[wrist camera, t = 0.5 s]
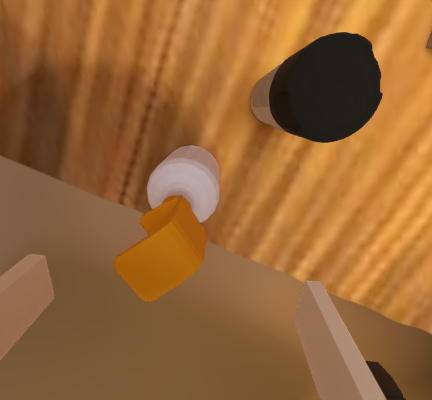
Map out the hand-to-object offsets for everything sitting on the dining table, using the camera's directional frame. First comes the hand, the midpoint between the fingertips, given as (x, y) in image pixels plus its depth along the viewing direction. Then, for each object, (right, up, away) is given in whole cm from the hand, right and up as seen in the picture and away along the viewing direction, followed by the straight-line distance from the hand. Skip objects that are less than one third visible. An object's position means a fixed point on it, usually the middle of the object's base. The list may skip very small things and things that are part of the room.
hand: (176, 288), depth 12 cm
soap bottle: (-2, +9, +26) cm, 27 cm away
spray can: (+10, +19, +21) cm, 30 cm away
